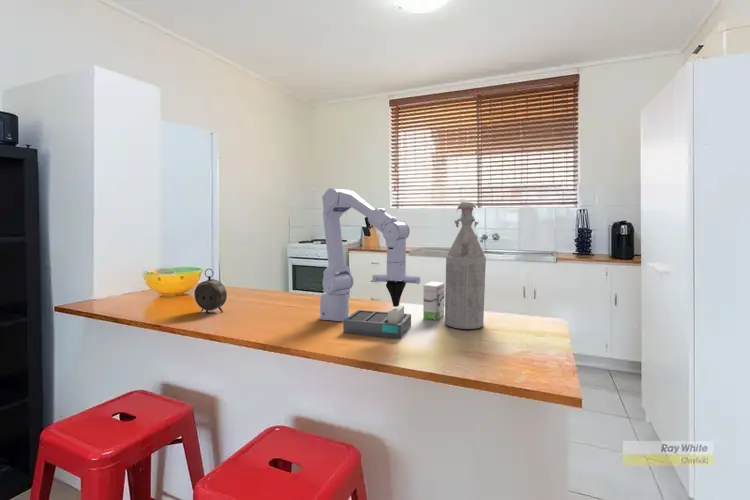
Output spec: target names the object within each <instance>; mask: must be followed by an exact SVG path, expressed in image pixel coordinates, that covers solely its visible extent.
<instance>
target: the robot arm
mask: <svg viewBox="0 0 750 500" xmlns="http://www.w3.org/2000/svg"><path fill="white" fill-rule="evenodd" d="M321 198H322V207H323V210H322V218H323V228H324V236H325V246H326V254H327V263H328V266H327V267H326V268H325V270H324V271H323V273H322V274H323V278H322V288H323V290H324V292H322V294H321V296H320V299H319V309H320V310H319V314H320V316H319V320H323V321H334V322H335V321H336V322H343V320H344V319H346V318H347V317H349V316H350V315H351V314H352V313H350V292H351V289H352V288H353V286H354V277H353V276H352V272H351V269H350V267H349V266H348V265H347V264H346V263H345V256H344V255H345V254H344V246H343V239H342V229H341V221H340V218H341V217H342V216H343V215H344V214H345V213H346V212H347V211H349V210H350V209H353V210H355V211H357V212H359V213H360V214H362V216H364V217H365V218H367V221H368V224H370V226H373V228H375V229H376V230H377V231H379V232H381V234H382V236H383V238H384V240H385V245H386V274H372V275H371V277H372V282H374V283H375V282H381V283H382V282H383V283H386V284H385V286H386V289H387V290H388V293H389V295H390V297H391V302H392V307H393V306H394V307H398V306H400V302H401V297H402V295H403V292H404V289H405V287H406V285H407V284H416V285H420V284H421V276H417V275H407V272H406V270H407V269H406V267H407V265H406V261H407V260H406V259H407V257H406V256H407V255H406V253H407V251H406V250H407V247H406V245H407V244H406V243H407V242H406V241H407V239H408V238H409V235H410V232H411V231H410V227H409V225H408V224H407V223H406V222H405V221H404V220H399V221H398V220H397V217H395V216H391V214H389V213H387V212H386V211H387V210H386V209H385V208H381V207H378V208H374V207H373V206H371V204H369V203H367V202H366V200H365V199H363V198H362V197H361V196H359V195H358V193H357V192H355V191H353V190H352V189H340V188H332V187H330V188H328V189H326V191H325V192H324V194H323V195H322V196H321Z"/></svg>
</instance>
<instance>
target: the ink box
mask: <svg viewBox="0 0 750 500" xmlns="http://www.w3.org/2000/svg"><path fill="white" fill-rule="evenodd" d="M445 287H446V282H441V281H432V280H431V281H430V282H427V283H425V284H424V285H423V309H422V310H423V316H422V317H423V319H424V320H432V319H433V320H434V321H437V320H438V319H440V318H441V317H443V316H445ZM442 315H443V316H442ZM433 320H432V321H433Z"/></svg>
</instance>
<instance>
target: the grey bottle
mask: <svg viewBox="0 0 750 500" xmlns="http://www.w3.org/2000/svg"><path fill="white" fill-rule="evenodd" d="M474 209H477V206H476V205H474V202H470V201H469V202H468V201H460V205H458V206H457V208H456V212H458V211H459V210H461V215H460V216H459V217H458V218H457V220H454V224H455V226H456V228H459V227H460V226H459V225H460V223H459V222H461V228H460V229H459V232H458V233H457V234H456V236H455V240H454V242H453V243H452V245H451V247H450V249H449V251H448V253H447V255H446V256H445V289H444V323H445V324H446V325H447V326H448V327H450V328H455V329H462V330H475V329H479V328H483V326H484V318H485V317H484V316H485V315H484V313H485V294H486V293H485V288H486V263H487V256H486V255H485V253H484V251H483V249H482V246H481V244H480V242H479V240H478V238H477V236H476V234H475V232H474V229H473V227H472V225H473V223H474V228H476V227H477V225H478V224H479V221H476V219H475V217H474V216H473V211H474Z"/></svg>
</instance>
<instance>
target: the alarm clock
mask: <svg viewBox="0 0 750 500" xmlns="http://www.w3.org/2000/svg"><path fill="white" fill-rule="evenodd" d="M209 270H211V273H212V275H211V276H210V275H209V276H208V275H207V271H209ZM204 276H205V277H206V278H208V279H207V280H204V281H201V282H199V283H198V284H197V285H196V287H195V290H194V299H195V302H196V305H198V307H200V308H201V312H203V311H204V310H205V314H208V312H209V311H210V312H211V311H215V310H217V309H218V310H219V311H220V312H221V313H224V310H223V309H222V308H221V307H223V305H225V303H226V301H227V297H228V296H227V295H228V293H227V289H226V287H225V286H224V284H223V283H222V282H220V281H219V280H217V279H214V278H213V276H214V271H213V269H212V268H206V269H205V271H204Z"/></svg>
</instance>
